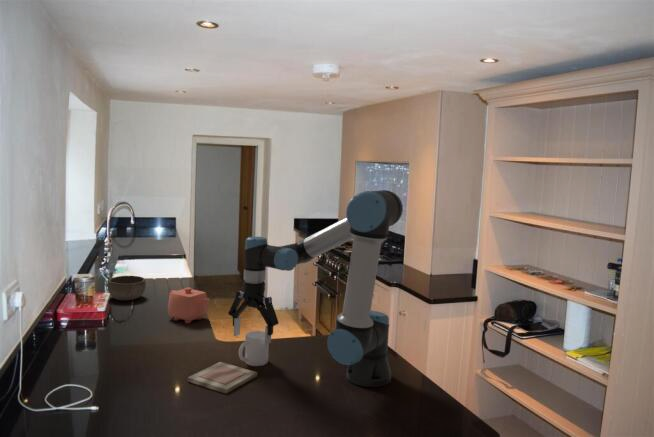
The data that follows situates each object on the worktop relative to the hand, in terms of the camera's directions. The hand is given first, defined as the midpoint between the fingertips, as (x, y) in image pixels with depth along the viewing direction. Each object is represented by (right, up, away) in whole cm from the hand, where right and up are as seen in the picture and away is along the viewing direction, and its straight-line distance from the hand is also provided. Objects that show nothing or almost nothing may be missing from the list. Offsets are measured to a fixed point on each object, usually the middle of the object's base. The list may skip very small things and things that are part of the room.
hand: (252, 339), depth 188 cm
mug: (0, -9, +1) cm, 9 cm away
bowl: (-74, +3, +77) cm, 107 cm away
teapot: (-35, -2, +48) cm, 60 cm away
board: (-8, -10, -13) cm, 18 cm away
